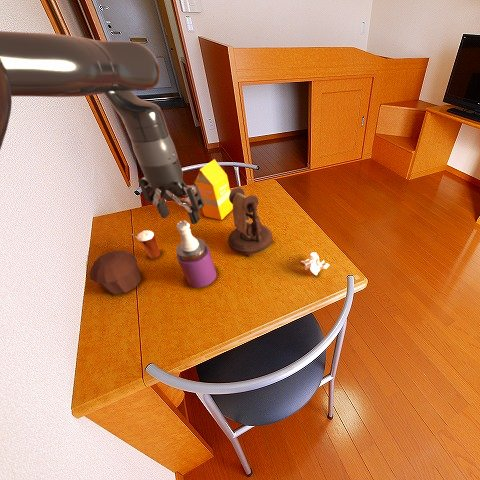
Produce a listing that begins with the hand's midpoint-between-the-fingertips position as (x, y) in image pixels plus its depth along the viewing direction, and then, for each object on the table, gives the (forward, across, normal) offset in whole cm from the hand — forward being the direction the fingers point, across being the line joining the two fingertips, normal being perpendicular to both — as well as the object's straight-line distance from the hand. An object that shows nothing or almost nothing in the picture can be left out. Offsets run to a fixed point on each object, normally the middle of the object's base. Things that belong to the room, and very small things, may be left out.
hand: (180, 219), depth 69 cm
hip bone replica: (+21, +31, +14) cm, 40 cm away
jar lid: (+10, 0, 0) cm, 10 cm away
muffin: (+22, -20, -8) cm, 31 cm away
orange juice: (+21, -13, +32) cm, 40 cm away
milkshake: (+21, -20, +3) cm, 29 cm away
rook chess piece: (+9, 0, 0) cm, 9 cm away
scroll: (+21, +7, +18) cm, 29 cm away
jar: (+21, 0, 0) cm, 21 cm away
